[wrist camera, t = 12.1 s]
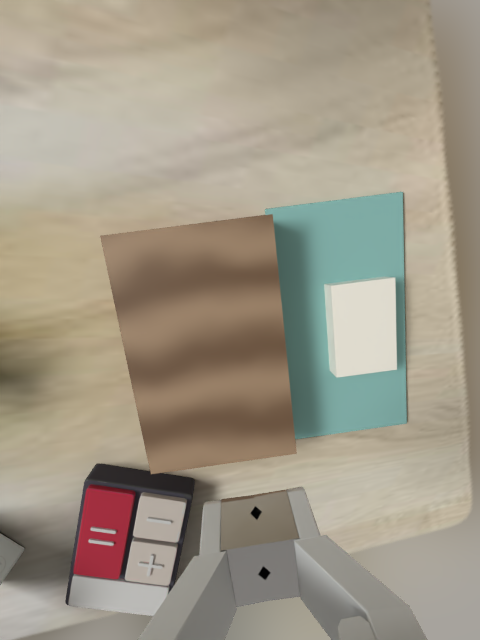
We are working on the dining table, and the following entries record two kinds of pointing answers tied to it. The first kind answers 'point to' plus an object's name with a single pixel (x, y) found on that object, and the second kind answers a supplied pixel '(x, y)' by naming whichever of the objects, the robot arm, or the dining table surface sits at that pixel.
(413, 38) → the dining table surface
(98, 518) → the calculator
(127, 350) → the board
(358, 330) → the white rectangular eraser
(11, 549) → the small box
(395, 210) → the mat
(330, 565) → the robot arm
